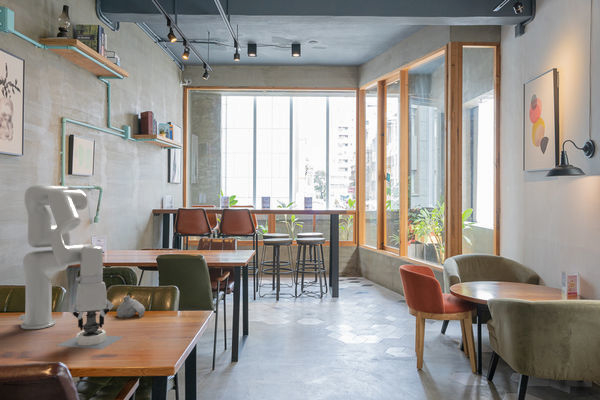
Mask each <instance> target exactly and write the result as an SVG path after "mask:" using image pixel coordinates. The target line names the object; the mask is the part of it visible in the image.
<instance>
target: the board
mask: <svg viewBox="0 0 600 400" xmlns="http://www.w3.org/2000/svg"><path fill="white" fill-rule="evenodd" d="M123 338H124V336H115V335H106V340H105V341H103V342H101V343H100V344H94V345H78V343H77V335H76V336H75V337H71V338H70V339H67V340H65V341H63V342H61V343H58V344H57V345H56V347H70V348H80V349H96V350H102V349H105V348H107V347H108V346H110V345H112V344H113V343H116V342H118V341H120V340H122V339H123Z"/></svg>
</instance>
